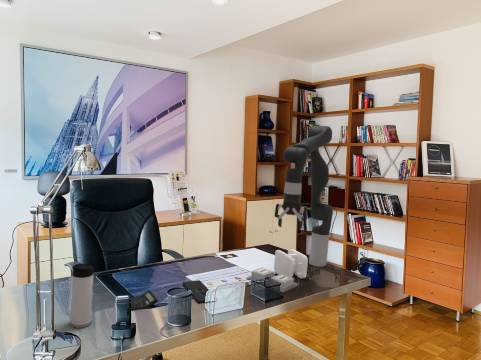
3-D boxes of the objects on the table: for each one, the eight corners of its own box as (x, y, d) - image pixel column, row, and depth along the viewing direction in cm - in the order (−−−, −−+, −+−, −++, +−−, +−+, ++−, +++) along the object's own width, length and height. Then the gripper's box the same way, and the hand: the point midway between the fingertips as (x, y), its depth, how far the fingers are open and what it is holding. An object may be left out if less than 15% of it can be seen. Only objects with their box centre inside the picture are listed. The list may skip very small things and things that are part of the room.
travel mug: (65, 324, 121) (67, 264, 119) (83, 317, 127) (85, 259, 125) (77, 330, 118) (79, 269, 116) (95, 323, 124) (97, 264, 122)
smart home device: (198, 300, 144) (182, 281, 161) (197, 305, 144) (181, 285, 162) (218, 298, 147) (200, 279, 165) (217, 302, 148) (199, 283, 165)
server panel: (263, 273, 183) (264, 264, 183) (298, 285, 171) (299, 276, 170) (246, 279, 173) (247, 270, 173) (282, 292, 161) (283, 283, 160)
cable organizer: (272, 271, 187) (274, 248, 186) (290, 269, 192) (292, 247, 191) (288, 282, 174) (290, 258, 173) (307, 280, 178) (309, 256, 177)
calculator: (119, 301, 141) (120, 293, 141) (150, 297, 147) (150, 289, 147) (125, 312, 133) (126, 304, 133) (157, 307, 139) (158, 299, 139)
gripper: (309, 192, 168) (306, 228, 170) (278, 189, 172) (275, 224, 174) (308, 195, 161) (305, 231, 163) (275, 191, 164) (272, 227, 166)
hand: (289, 227), depth 168 cm, fingers open, 8 cm apart
